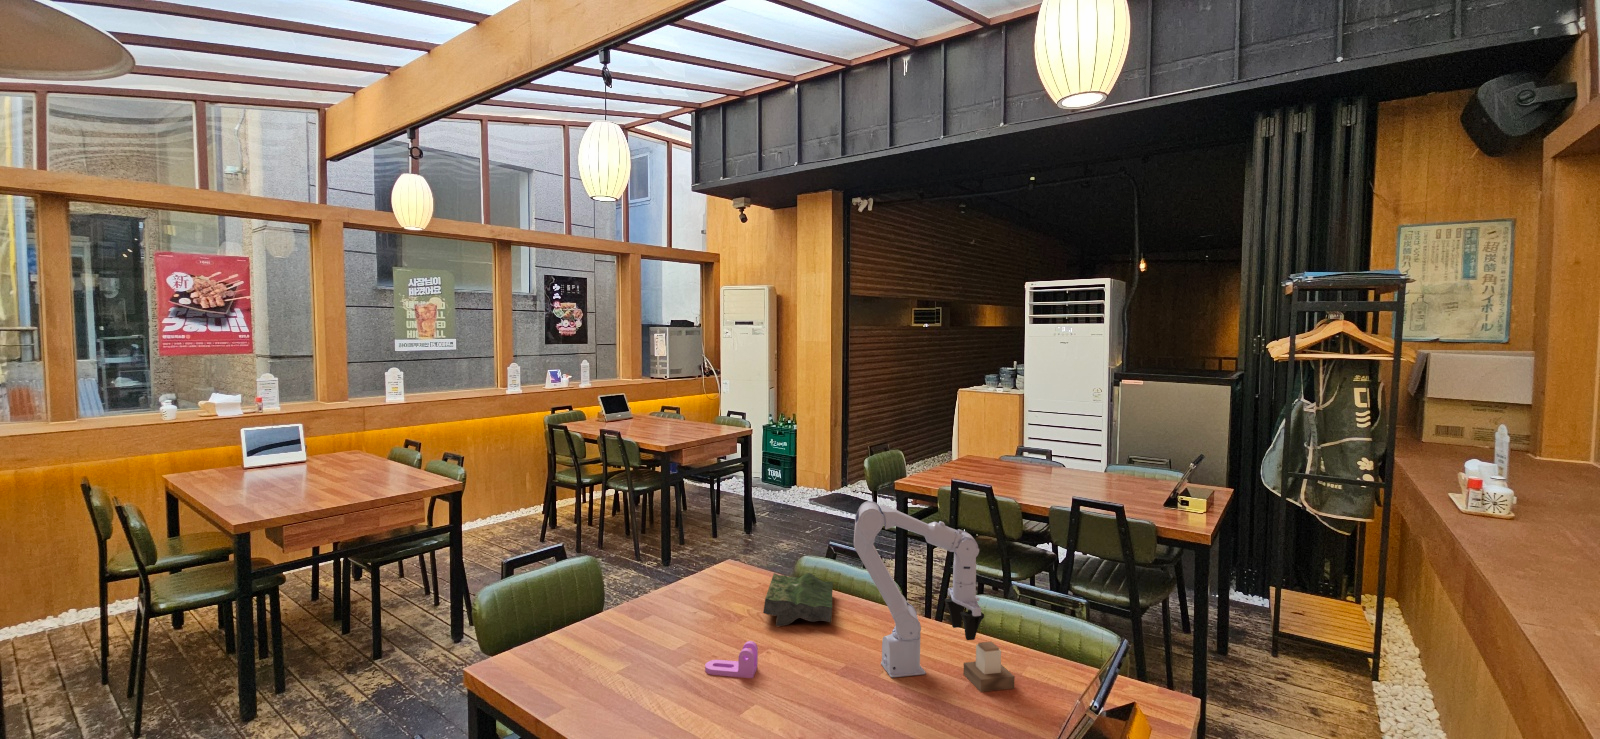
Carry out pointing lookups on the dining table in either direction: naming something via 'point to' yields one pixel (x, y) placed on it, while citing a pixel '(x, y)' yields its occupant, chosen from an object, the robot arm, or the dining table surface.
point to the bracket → (736, 663)
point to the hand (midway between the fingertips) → (963, 633)
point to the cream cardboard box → (988, 657)
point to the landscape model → (799, 599)
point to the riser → (988, 678)
